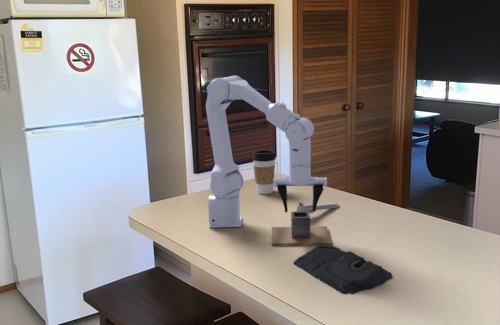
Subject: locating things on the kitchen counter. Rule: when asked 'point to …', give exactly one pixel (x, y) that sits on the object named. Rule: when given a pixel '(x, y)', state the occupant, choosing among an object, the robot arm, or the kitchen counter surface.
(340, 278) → the dark slate chunk
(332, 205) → the caliper
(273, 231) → the post base
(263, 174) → the coffee cup
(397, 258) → the kitchen counter surface
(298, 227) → the steel collar
